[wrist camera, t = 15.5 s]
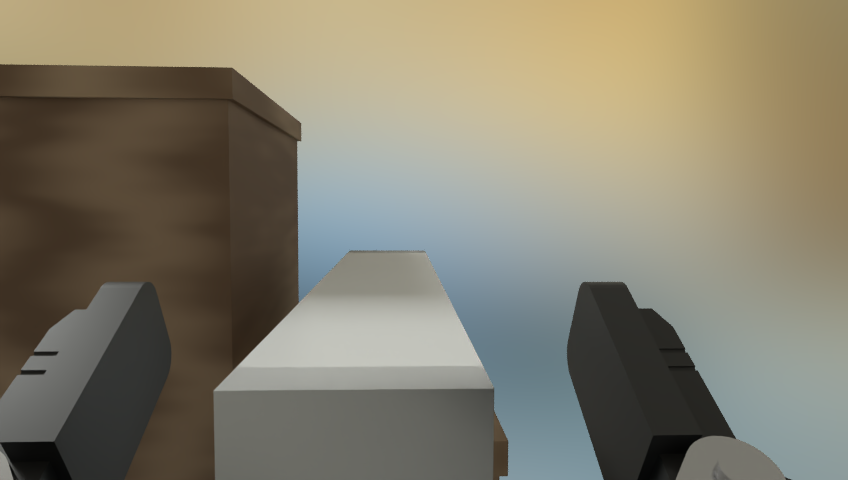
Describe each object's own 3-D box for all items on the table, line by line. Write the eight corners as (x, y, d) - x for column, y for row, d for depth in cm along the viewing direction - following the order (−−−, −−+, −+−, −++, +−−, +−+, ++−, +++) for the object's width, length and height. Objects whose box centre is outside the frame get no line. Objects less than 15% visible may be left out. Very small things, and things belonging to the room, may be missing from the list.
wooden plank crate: (-227, 1166, 17) (-310, 26, 15) (93, 671, 36) (75, 120, 34) (498, 1120, 18) (513, 40, 16) (447, 660, 37) (451, 124, 35)
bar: (218, 660, 9) (213, 391, 9) (350, 324, 33) (349, 250, 33) (491, 652, 9) (493, 388, 9) (424, 324, 33) (424, 250, 33)
